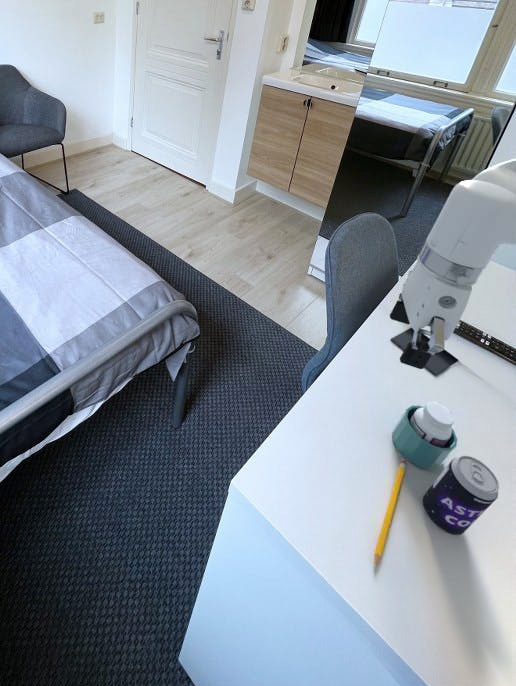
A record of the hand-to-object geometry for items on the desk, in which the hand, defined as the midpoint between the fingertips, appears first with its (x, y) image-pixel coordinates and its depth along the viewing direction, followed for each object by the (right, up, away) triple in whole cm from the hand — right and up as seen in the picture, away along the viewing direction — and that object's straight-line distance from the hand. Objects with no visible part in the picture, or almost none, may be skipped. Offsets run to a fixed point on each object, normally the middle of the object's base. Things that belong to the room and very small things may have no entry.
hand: (404, 341), depth 70 cm
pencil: (-5, -25, -4) cm, 26 cm away
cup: (+5, -21, +5) cm, 22 cm away
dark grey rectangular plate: (+23, -11, +25) cm, 36 cm away
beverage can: (+3, -26, -4) cm, 26 cm away
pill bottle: (+5, -21, +5) cm, 22 cm away
